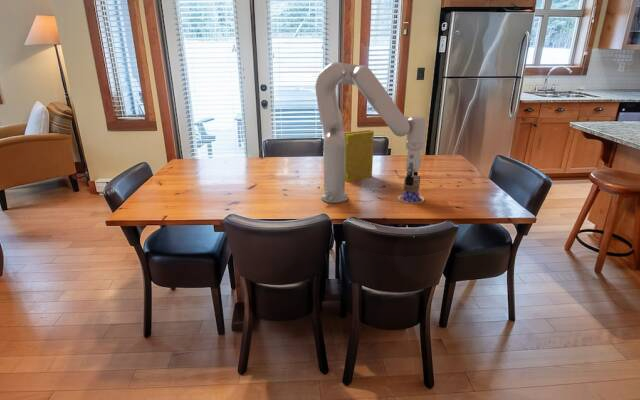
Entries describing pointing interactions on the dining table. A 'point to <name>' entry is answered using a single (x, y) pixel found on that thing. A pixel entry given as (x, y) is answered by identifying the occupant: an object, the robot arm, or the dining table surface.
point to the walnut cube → (415, 184)
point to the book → (358, 155)
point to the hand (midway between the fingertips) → (411, 181)
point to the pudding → (410, 197)
